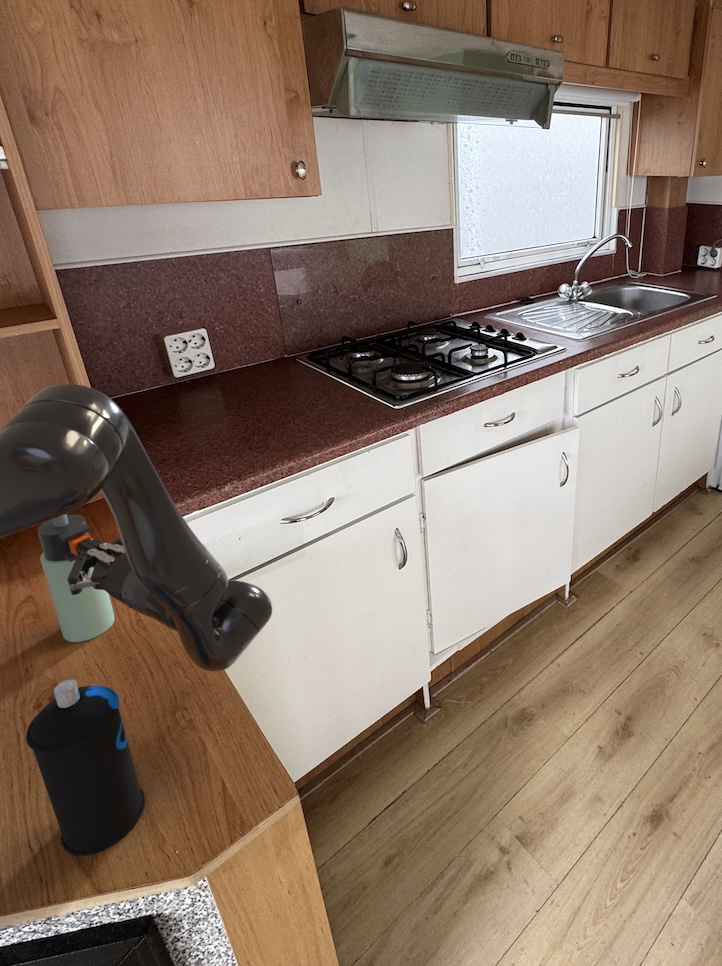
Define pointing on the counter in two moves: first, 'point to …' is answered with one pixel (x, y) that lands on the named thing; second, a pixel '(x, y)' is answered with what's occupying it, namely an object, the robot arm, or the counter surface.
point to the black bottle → (86, 767)
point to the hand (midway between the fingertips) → (83, 546)
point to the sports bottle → (74, 612)
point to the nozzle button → (74, 542)
